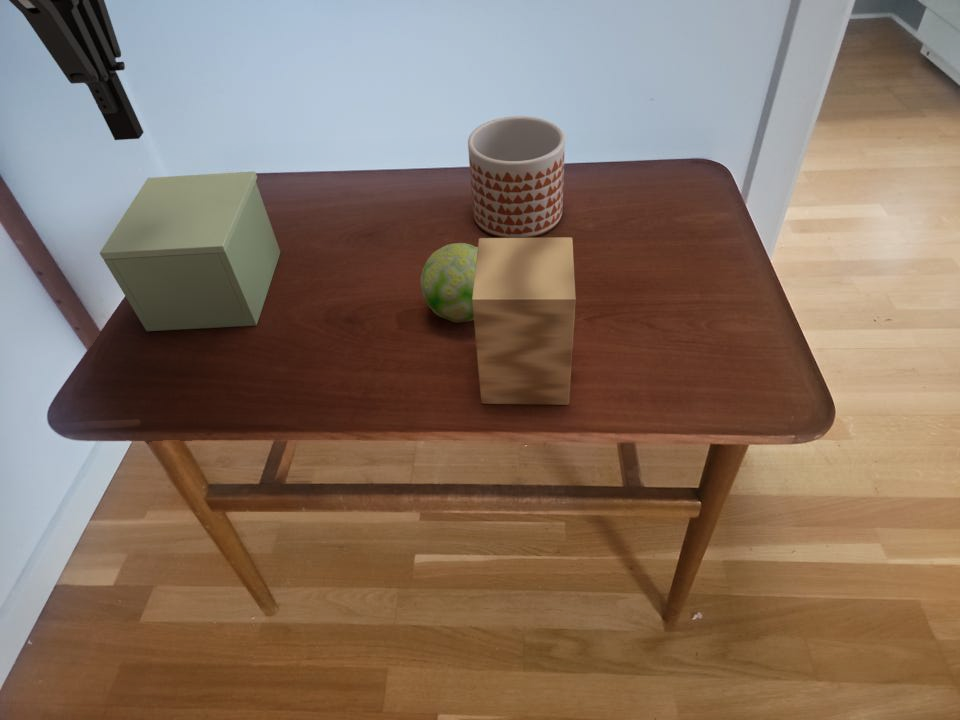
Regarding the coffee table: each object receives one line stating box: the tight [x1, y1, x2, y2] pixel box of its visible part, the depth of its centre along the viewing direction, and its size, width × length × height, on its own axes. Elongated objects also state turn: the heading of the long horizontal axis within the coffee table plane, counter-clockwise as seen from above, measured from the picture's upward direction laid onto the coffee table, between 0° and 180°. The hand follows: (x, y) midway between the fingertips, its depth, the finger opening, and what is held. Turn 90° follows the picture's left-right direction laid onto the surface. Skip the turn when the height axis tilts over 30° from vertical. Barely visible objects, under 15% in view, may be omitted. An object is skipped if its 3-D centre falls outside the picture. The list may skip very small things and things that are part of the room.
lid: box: [99, 170, 258, 260], centre depth 83 cm, size 17×15×1 cm
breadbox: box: [103, 181, 281, 332], centre depth 87 cm, size 16×15×12 cm
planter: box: [467, 115, 566, 238], centre depth 95 cm, size 14×14×13 cm
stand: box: [472, 236, 577, 406], centre depth 71 cm, size 10×10×16 cm
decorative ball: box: [419, 242, 478, 323], centre depth 82 cm, size 10×10×10 cm
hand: (129, 136), depth 71 cm, fingers closed
